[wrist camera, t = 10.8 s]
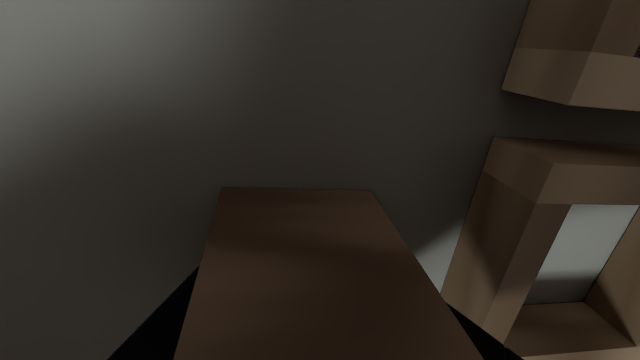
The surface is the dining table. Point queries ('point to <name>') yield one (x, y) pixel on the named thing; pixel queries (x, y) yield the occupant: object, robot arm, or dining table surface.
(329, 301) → the walnut block
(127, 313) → the dining table surface
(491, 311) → the jig board
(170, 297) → the robot arm
